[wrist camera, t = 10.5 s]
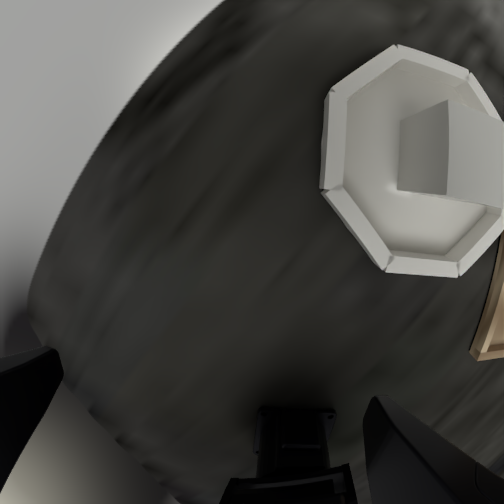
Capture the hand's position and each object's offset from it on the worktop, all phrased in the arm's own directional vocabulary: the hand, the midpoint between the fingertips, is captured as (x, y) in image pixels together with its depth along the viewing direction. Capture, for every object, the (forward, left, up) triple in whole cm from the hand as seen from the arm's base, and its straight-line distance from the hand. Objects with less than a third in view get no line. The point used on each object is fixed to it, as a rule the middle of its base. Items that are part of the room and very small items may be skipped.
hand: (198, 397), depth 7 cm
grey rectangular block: (+8, -11, -12) cm, 18 cm away
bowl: (+8, -11, -12) cm, 18 cm away
